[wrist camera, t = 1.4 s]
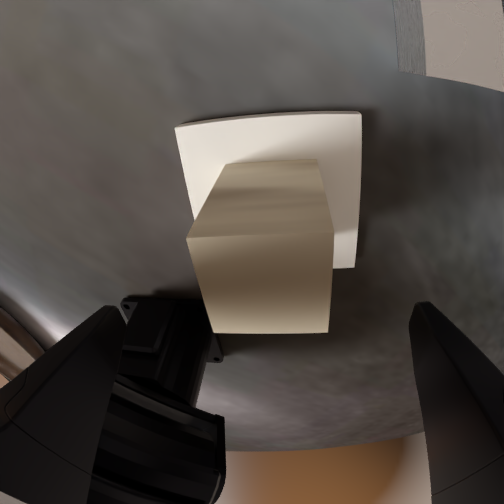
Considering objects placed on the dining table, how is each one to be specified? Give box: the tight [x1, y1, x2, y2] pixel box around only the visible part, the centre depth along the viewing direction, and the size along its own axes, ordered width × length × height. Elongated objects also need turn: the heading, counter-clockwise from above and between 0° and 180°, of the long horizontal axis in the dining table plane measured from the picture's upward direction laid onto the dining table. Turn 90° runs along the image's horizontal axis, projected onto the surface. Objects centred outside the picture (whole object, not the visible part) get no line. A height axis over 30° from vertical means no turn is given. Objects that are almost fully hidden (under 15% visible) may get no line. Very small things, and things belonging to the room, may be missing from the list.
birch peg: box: [186, 159, 334, 334], centre depth 12 cm, size 4×4×6 cm
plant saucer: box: [0, 307, 45, 380], centre depth 28 cm, size 21×21×3 cm
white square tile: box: [175, 111, 362, 268], centre depth 14 cm, size 8×8×1 cm
